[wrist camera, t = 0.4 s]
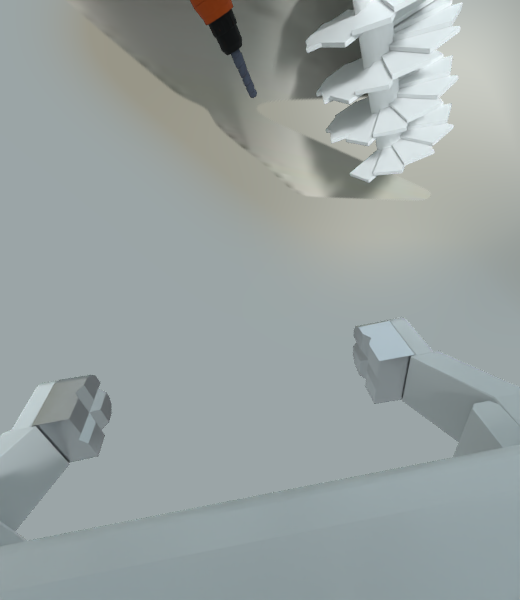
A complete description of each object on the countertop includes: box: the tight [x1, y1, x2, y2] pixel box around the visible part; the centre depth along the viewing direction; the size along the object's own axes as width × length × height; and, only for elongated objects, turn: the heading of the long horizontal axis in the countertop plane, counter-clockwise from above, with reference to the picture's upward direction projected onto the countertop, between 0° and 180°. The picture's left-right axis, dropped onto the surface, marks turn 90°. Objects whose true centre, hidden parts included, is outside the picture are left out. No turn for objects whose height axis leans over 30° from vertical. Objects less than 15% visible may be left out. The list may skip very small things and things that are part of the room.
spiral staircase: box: [305, 0, 462, 183], centre depth 41 cm, size 18×18×25 cm
